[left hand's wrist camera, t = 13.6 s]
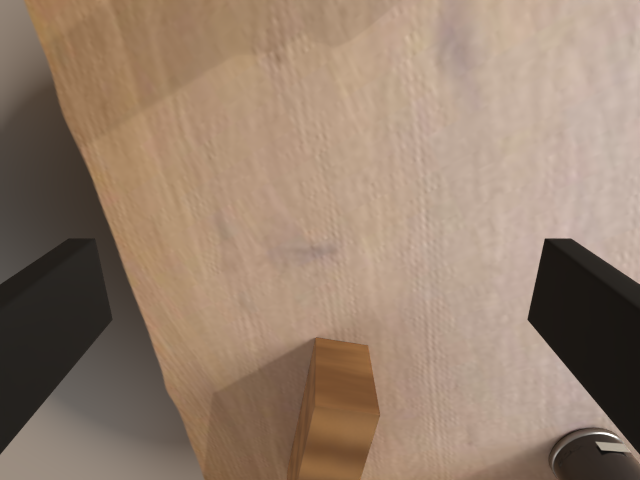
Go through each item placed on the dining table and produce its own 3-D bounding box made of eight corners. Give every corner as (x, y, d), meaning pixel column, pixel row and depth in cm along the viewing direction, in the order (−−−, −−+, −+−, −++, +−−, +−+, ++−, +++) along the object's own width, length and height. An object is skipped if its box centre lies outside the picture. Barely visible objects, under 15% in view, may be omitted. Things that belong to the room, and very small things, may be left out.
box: (315, 337, 48) (314, 405, 39) (368, 345, 49) (380, 414, 39) (287, 469, 56) (280, 553, 46) (333, 475, 57) (335, 560, 47)
